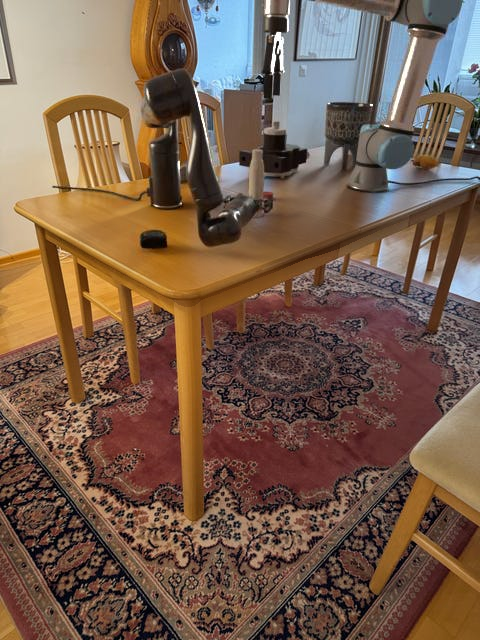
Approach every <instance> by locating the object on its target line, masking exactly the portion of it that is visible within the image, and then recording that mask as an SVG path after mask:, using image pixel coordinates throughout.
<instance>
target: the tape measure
mask: <svg viewBox="0 0 480 640" xmlns="http://www.w3.org/2000/svg"><path fill="white" fill-rule="evenodd" d="M167 236H168V235H167V234H166V232H165V231H164V230H161V229H147V230H144V231H143V232H141V233H140V235H139V240H140V241H139V245H140V246H139V247H141V248H142V249H146V250H157V249H167V248H168V240H167V239H168V237H167Z"/></svg>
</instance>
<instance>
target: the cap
mask: <svg viewBox="0 0 480 640" xmlns="http://www.w3.org/2000/svg"><path fill="white" fill-rule="evenodd" d="M266 196H269V198H270V200H271V199H272V200H273V201H274V192H272V191H263V199H264V198H265V197H266Z"/></svg>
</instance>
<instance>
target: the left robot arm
mask: <svg viewBox="0 0 480 640" xmlns="http://www.w3.org/2000/svg"><path fill="white" fill-rule="evenodd" d="M140 105H141V106H140V113H141V119H142V122H143V123H144V125H145V126H146V127H147V128H150V129H167V130H166V131H165V133H163V135H161V136H159V137H157V138H155V139H152V140H150V141H149V143H148V152H149V164H150V165H149V166H150V176H149V177H148V185H149V186H148V187H147V188H146V190H145V191H142V192H141V193H139V197H138V198H135V197H131V196H128V195H125V194H122V193H118V192H115V191H112V190H111V191H110V190H106V189H99V188H89V187H76V186H75V187H73V186H62V185H61V186H60V185H52V188H53V189H64V190H75V191H76V190H78V191H90V192H99V193H104V194H105V193H106V194H110V195H115V196H118V197H122V198H125V199H128V200H131V201H135V202H136V201H137V202H138V201H141V199H142V197H143V196H144V195H146V196H147V197H149V198H150V199H149V200H150V207H154V208H156V209H161V210H170V209H171V210H172V209H177V208H180V207H181V206H182V200H183V196H182V191H181V190H182V189H181V183H180V148H179V119H183V118H186V117H187V118H188V120H189V126H190V141H189V142H190V143H189V149H188V155H187V160H186V162H187V165H186V178H187V182H188V183H187V185H188V188H189V191H190V194H191V197H192V199H193V202H194V207H195V211H196V221H197V233H198V237H199V240H200V242H201V243H202V244H203V245H204V246H206V247H207V248H215V247H219V246H224V245H229V244H233V243H235V242H237V241H239V239H240V238H241V237H242V229H243V228H244V227H245V226H246V225H248V223H250V221H251V220H252V219H253V218H255V217H254V215H255V213H256V212H257V211H260V210H262V211H263V213H264V214H269V213H270V212H271V211H272V210H273V209H274V199H273V200H272V199H271V200H270V198H269V196H266V197H265V198H264V199H261V198H256V199H252V198H250V197H249V195H246V194H245V195H244V194H243V193H241V192H240V193H239V192H238V194H234V195H233V196H232V195H230V194H228V195H226V196H225V197H224V194H223V192H222V188H221V185H220V182H219V178H218V176H217V174H216V170H215V167H214V166H215V165H214V163H213V158H212V155H211V154H212V153H211V149H210V143H209V140H208V135H207V130H206V125H205V121H204V117H203V112H202V108H201V103H200V99H199V95H198V91H197V88H196V86H195V82H194V79H192V76H191V74H190V72H189V71H187V69H185V68H182V67H181V68H177V69H174V70H171V71H167V72H165V73H162V74H159V75H157V76H154V77H152V78H149V79H148V80H146V81H145V83H144V85H143V98H142V100H141V104H140ZM256 201H258V203H257V202H256ZM262 202H263V205H262ZM221 205H222V209H221V210H220V212H218V214H217V216H213V217H212V215H211V212H212V210H214V209H217V208H218V207H220V206H221Z"/></svg>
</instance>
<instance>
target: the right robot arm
mask: <svg viewBox="0 0 480 640" xmlns="http://www.w3.org/2000/svg"><path fill="white" fill-rule="evenodd" d="M308 1H310V2H315V3H320V4H325V5H330V6H334V7H339V8H344V9H348V10H353V11H358V12H363V13H368V14H372V15H377V16H382V17H384V18H385V20H386V21H388V22H392V23H395V24H398V25H399V24H400V25H402V26H406V27H407V30H406V32H407V33H408V36H409V40H408V43H407V46H406V50H405V53H404V57H403V60H402V64H401V67H400V71H399V74H398V78H397V81H396V83H395V88H394V90H393V94H392V97H391V102H390V105H389V107H388V111H387V115H386V118H385V119H384V120H383V121H382V122H380V124H369V125H363V126H362V127H361V131H360V134H359V143H358V151H357V158H356V165H355V166H354V167H353V171H351V174H350V176H349V179H348V182H347V187H348V188H349V189H351V190H354V191H358V192H363V193H364V192H365V193H382V192H386V191H388V189H389V184H393V185H400V186H416V185H423V184H424V185H426V184H430V183H435V182H443V181H444V182H446V181H471V180H475V179H478V181H480V176H479V175H477V176H476V175H475V176H472V177H466V178H465V177H463V178H462V177H451V178H449V177H448V178H437V179H430V180H426V181H425V180H424V181H419V182H398V181H393V180H389V178H388V173H387V172H388V171H387V170H391V171H392V170H398V169H401V168H402V167H404V166H405V165H407V164H408V163H409V161H411V160H412V157H413V155H414V152H415V145H414V142H413V136H414V133H415V128H414V126H413V121H414V117H415V114H416V111H417V108H418V105H419V102H420V99H421V95H422V93H423V89H424V86H425V83H426V80H427V77H428V75H429V71H430V67H431V65H432V62H433V59H434V55H435V52H436V48H437V46H438V43H439V42H440V41H441V40H442V39H444V38H445V37H446V34H447V31H448V28H449V26H450V24H452V23H453V22H454V21H456V19H457V18H458V16H459V14H460V12H461V10H462V8H463V0H308ZM290 6H291V0H263V3H262V4H261V7H262V8H263V15H264V16H265V17H264V18H263V19H262V32H263V33H266V34H267V35H266V38H265V39H266V40H265V41H266V42H265V44H266V45H265V50H264V59H263V66H262V70H261V74H262V75H263V97H262V99H274V96H275V97H276V96H277V97H280V96H281V89H282V75H283V74H284V73H285V69H284V55H283V54H284V49H283V48H284V46H283V44H284V37H283V36H281V34H287V33H288V32H289V23H290V21H289V16H290V11H291V10H290Z"/></svg>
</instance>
